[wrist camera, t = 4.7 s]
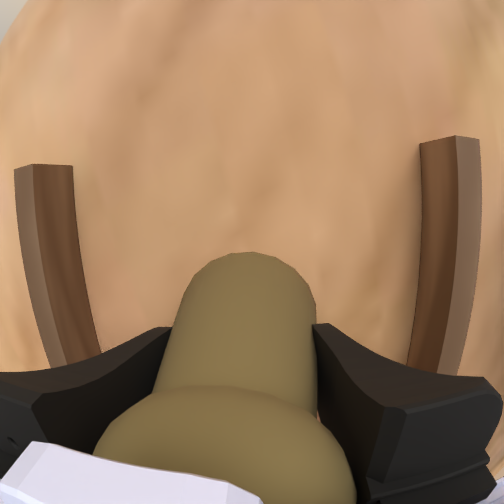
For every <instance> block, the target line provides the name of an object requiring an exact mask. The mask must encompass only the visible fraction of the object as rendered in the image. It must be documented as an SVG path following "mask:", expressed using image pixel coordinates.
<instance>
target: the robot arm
mask: <svg viewBox="0 0 504 504" xmlns="http://www.w3.org/2000/svg"><path fill="white" fill-rule="evenodd" d="M172 328H173V327H157V328H154V329H151V330H149V331H147V332H145V333H143V334H141V335H139V336H137V337H135V338H133V339H131V340H129V341H127V342H125V343H123V344H121V345H119V346H117V347H115V348H112V349H110V350H108V351H106V352H104V353H101V354H99V355H97V356H94V357H91V358H89V359H86V360H82V361H79V362H76V363H73V364H68V365H64V366H60V367H55V368H51V369H44V370H37V371H27V372H0V504H263V502H262V501H261V499H260V498H259V497H258V496H256V495H255V494H253V493H251V492H248V491H246V490H244V489H242V488H240V487H238V486H236V485H234V484H232V483H230V482H228V481H226V480H220V479H215V478H210V477H206V476H201V475H197V474H192V473H185V472H177V471H169V470H162V469H156V468H149V467H144V466H138V465H133V464H128V463H123V462H119V461H114V460H110V459H106V458H102V457H98V456H94V455H92V454H93V452H94V450H95V447H96V445H97V443H98V441H99V440H100V438H101V437H102V435H103V433H104V432H105V430H106V429H107V427H108V426H109V424H110V423H111V422H112V421H113V420H115V419H116V418H117V417H118V416H120V415H121V414H122V413H124V412H125V411H126V410H127V409H129V408H130V407H132V406H133V405H135V404H136V403H138V402H139V401H141V400H142V399H144V398H145V397H147V396H148V395H150V394H152V391H153V388H154V385H155V381H156V378H157V375H158V372H159V368H160V365H161V362H162V359H163V356H164V352H165V349H166V346H167V343H168V340H169V337H170V334H171V331H172ZM312 329H313V336H314V342H315V349H316V354H317V411H318V414H319V418H320V421H321V423H322V424H323V425H324V426H325V427H326V428H327V429H329V430H330V431H331V433H332V434H333V436H334V437H335V439H336V440H337V442H338V443H339V444H340V446H341V447H342V449H343V451H344V453H345V456H346V458H347V461H348V463H349V466H350V468H351V471H352V474H353V478H354V482H355V486H356V490H357V502H356V504H504V476H503V477H502V478H500V479H498V480H496V481H495V479H494V478H493V476H492V474H491V473H490V471H489V469H488V468H487V466H486V465H487V464H488V463H489V461H490V457H489V456H488V454H487V453H486V451H485V448H486V447H487V445H488V443H489V441H490V439H491V437H492V435H493V433H494V431H495V429H496V427H497V425H498V423H499V420H500V417H501V414H502V409H503V401H502V398H501V395H500V394H499V393H498V392H497V391H496V390H495V389H494V388H493V387H492V385H491V384H490V383H489V382H488V381H487V380H486V379H485V378H484V377H472V376H453V375H445V374H439V373H433V372H428V371H423V370H419V369H416V368H412V367H409V366H406V365H403V364H400V363H397V362H395V361H392V360H390V359H387V358H385V357H383V356H381V355H378V354H376V353H375V352H373V351H371V350H369V349H367V348H365V347H364V346H362V345H360V344H359V343H357V342H356V341H354V340H353V339H351V338H350V337H348V336H347V335H345V334H344V333H342V332H341V331H340V330H338V329H337V328H335V327H334V326H332V325H331V324H329V323H324V324H312Z"/></svg>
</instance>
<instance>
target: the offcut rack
mask: <svg viewBox="0 0 504 504" xmlns="http://www.w3.org/2000/svg"><path fill="white" fill-rule="evenodd" d="M420 153H421V172H422V239H421V258H420V272H419V284H418V294H417V302H416V311H415V318H414V325H413V332H412V338H411V344H410V350H409V355H408V361H407V366H409V367H412V368H416V369H419V370H423V371H428V372H433V373H439V374H445V375H453V376H456V375H457V372H458V368H459V365H460V361H461V357H462V353H463V349H464V345H465V341H466V336H467V332H468V327H469V322H470V317H471V311H472V306H473V300H474V293H475V287H476V279H477V271H478V262H479V251H480V238H481V217H482V177H481V156H480V143H479V139H475V138H469V137H462V136H456V135H455V136H451V137H446V138H442V139H438V140H433V141H429V142H425V143H421V144H420ZM14 182H15V200H16V212H17V222H18V231H19V238H20V246H21V252H22V258H23V264H24V270H25V275H26V280H27V285H28V290H29V294H30V298H31V303H32V307H33V311H34V315H35V318H36V322H37V326H38V329H39V333H40V336H41V339H42V343H43V346H44V349H45V352H46V355H47V358H48V361H49V364H50V367H51V368H55V367H60V366H64V365H68V364H73V363H76V362H79V361H82V360H86V359H89V358H91V357H94V356H97V355H99V354H101V351H100V348H99V344H98V340H97V336H96V332H95V328H94V324H93V319H92V315H91V310H90V306H89V301H88V296H87V291H86V286H85V280H84V274H83V268H82V262H81V256H80V249H79V241H78V233H77V224H76V215H75V204H74V190H73V171H72V166H71V165H48V164H31V165H27V166H24V167H21V168H17V169H14ZM317 420H318V421H319V422H321V421H320V418H319V414H318V411H317Z"/></svg>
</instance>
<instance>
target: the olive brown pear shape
mask: <svg viewBox="0 0 504 504" xmlns="http://www.w3.org/2000/svg"><path fill="white" fill-rule="evenodd" d="M312 324H316V304H315V301H314V298H313V296H312V293H311V290H310V288H309V285H308V284H307V283H306V282H305V281H304V279H303V278H302V277H301V276H300V275H299V273H298V272H297V271H296V270H295V269H294V268H292V267H291V266H289V265H287V264H286V263H284V262H282V261H281V260H279V259H278V258H276V257H272V256H268V255H264V254H260V253H256V252H245V253H231V254H228V255H226V256H223V257H221V258H218V259H216V260H213V261H211V262H209V263H208V264H207V265H206V266H205V267H204V268H202V269H201V270H200V271H199V272H198V273H197V274H195V275H194V277H193V278H192V280H191V282H190V284H189V286H188V287H187V289H186V291H185V293H184V295H183V298H182V301H181V304H180V307H179V310H178V313H177V316H176V319H175V322H174V325H173V328H172V331H171V334H170V337H169V340H168V343H167V346H166V349H165V352H164V356H163V359H162V362H161V365H160V368H159V372H158V375H157V378H156V381H155V385H154V388H153V391H152V394H150V395H148V396H147V397H145V398H144V399H142V400H141V401H139V402H138V403H136V404H135V405H133V406H132V407H130V408H129V409H127V410H126V411H125V412H124V413H122V414H121V415H120V416H118V417H117V418H116V419H115V420H113V421H112V422H111V423H110V424H109V426H108V427H107V429H106V430H105V432H104V433H103V435H102V437H101V438H100V440H99V441H98V443H97V445H96V447H95V450H94V452H93V454H92V455H94V456H98V457H102V458H106V459H110V460H114V461H119V462H123V463H128V464H133V465H138V466H144V467H149V468H156V469H162V470H169V471H177V472H185V473H192V474H197V475H201V476H206V477H210V478H215V479H220V480H226V481H228V482H230V483H232V484H234V485H236V486H238V487H240V488H242V489H244V490H246V491H248V492H251V493H253V494H255V495H256V496H258V497H259V498H260V499H261V501H262V502H263V504H356V502H357V490H356V486H355V482H354V478H353V474H352V471H351V468H350V466H349V463H348V461H347V458H346V456H345V453H344V451H343V449H342V447H341V446H340V444H339V443H338V442H337V440H336V439H335V437H334V436H333V434H332V433H331V431H330V430H329V429H327V428H326V427H325V426H324V425H323V424H322V423H321V422H319V421H318V420H317V354H316V349H315V342H314V336H313V329H312Z"/></svg>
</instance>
